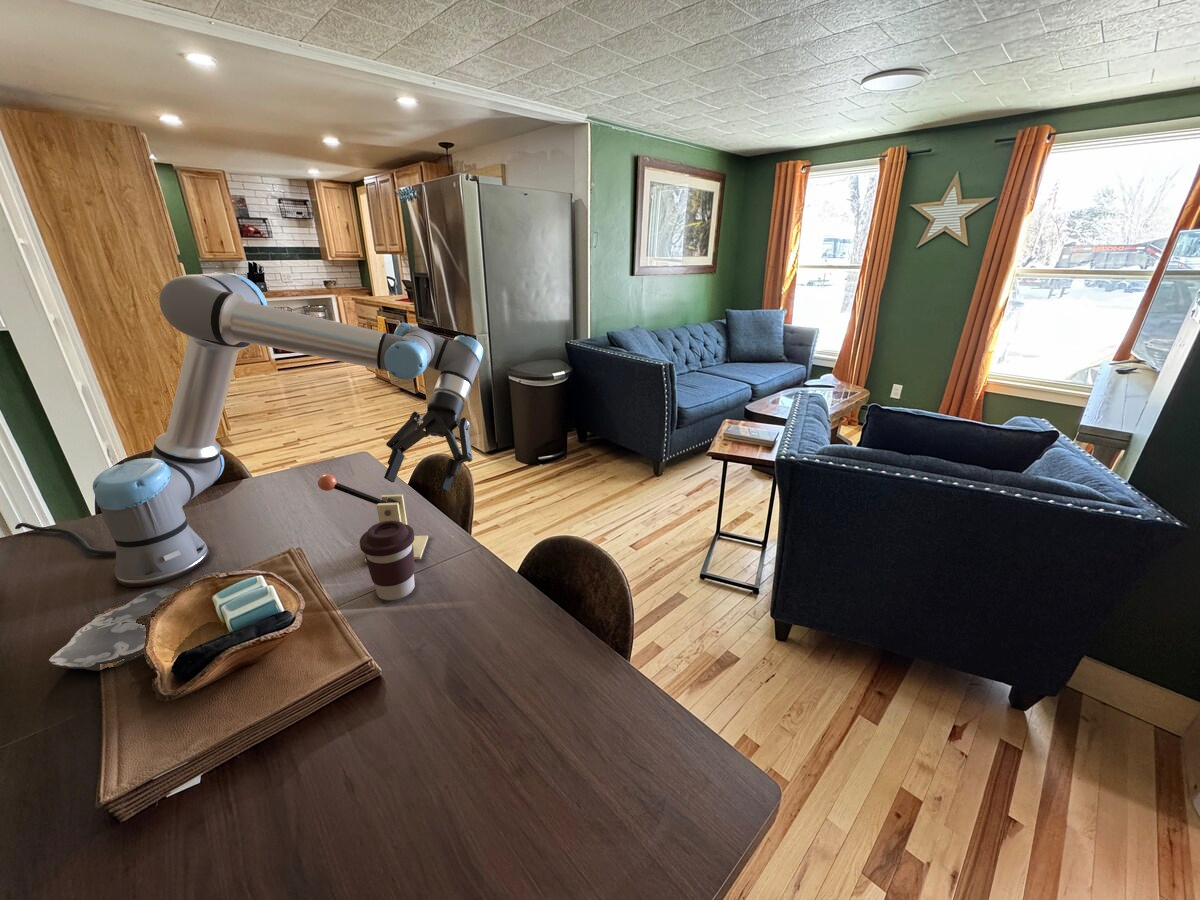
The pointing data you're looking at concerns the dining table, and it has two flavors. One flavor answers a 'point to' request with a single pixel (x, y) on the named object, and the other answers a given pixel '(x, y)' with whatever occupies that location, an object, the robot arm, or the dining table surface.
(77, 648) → the grey stone slab
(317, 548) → the dining table surface
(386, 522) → the coffee cup
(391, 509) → the bracket
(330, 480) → the lever
